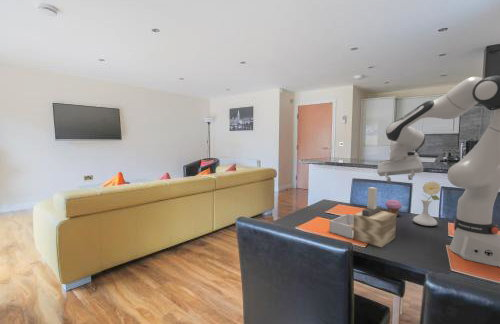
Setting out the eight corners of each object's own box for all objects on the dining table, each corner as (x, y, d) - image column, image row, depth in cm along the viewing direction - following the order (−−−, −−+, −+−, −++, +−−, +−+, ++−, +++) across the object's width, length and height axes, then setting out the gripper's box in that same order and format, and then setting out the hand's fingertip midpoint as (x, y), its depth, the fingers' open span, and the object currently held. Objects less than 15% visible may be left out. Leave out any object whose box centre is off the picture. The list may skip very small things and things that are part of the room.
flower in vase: (407, 222, 147) (410, 179, 145) (422, 220, 151) (425, 178, 148) (429, 229, 135) (433, 183, 133) (445, 227, 139) (448, 182, 136)
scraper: (380, 211, 127) (381, 186, 126) (368, 216, 118) (369, 190, 117) (374, 210, 129) (375, 185, 128) (362, 215, 121) (363, 189, 119)
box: (368, 230, 134) (368, 219, 134) (351, 238, 123) (352, 226, 122) (347, 224, 143) (347, 213, 143) (329, 232, 132) (329, 220, 131)
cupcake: (386, 216, 158) (387, 200, 157) (383, 212, 166) (384, 197, 165) (402, 217, 155) (403, 201, 154) (399, 213, 163) (400, 198, 162)
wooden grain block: (395, 238, 124) (396, 214, 123) (381, 247, 113) (382, 221, 112) (368, 230, 133) (369, 208, 132) (353, 238, 123) (354, 214, 122)
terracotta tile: (351, 224, 138) (351, 227, 138) (347, 225, 135) (347, 228, 135) (358, 226, 135) (358, 229, 135) (355, 227, 132) (354, 230, 132)
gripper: (376, 158, 139) (374, 178, 131) (420, 151, 126) (422, 174, 118) (379, 165, 142) (378, 185, 134) (423, 159, 129) (424, 182, 121)
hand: (399, 180), depth 126 cm, fingers open, 8 cm apart
